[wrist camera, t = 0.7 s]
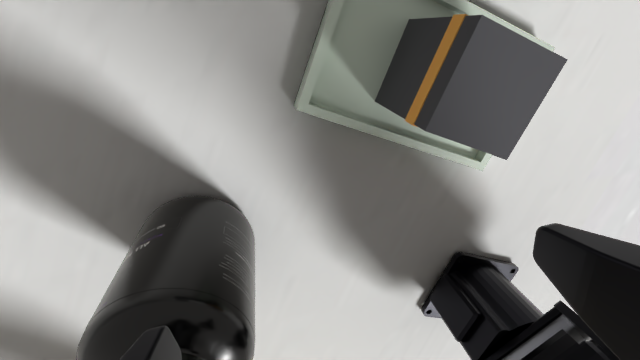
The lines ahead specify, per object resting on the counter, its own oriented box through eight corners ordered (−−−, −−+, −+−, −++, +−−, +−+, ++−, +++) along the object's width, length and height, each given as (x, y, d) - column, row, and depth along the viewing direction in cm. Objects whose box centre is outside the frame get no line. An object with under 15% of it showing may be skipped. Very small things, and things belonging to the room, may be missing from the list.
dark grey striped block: (475, 49, 18) (568, 58, 13) (438, 125, 20) (506, 161, 14) (408, 17, 17) (481, 12, 11) (373, 101, 18) (423, 132, 13)
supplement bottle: (136, 189, 18) (-22, 411, 8) (257, 193, 20) (264, 382, 9) (146, 282, 21) (39, 540, 10) (251, 279, 23) (252, 501, 12)
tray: (538, 46, 19) (554, 47, 18) (471, 164, 22) (482, 171, 21) (346, -55, 15) (353, -61, 14) (293, 105, 18) (296, 110, 17)
